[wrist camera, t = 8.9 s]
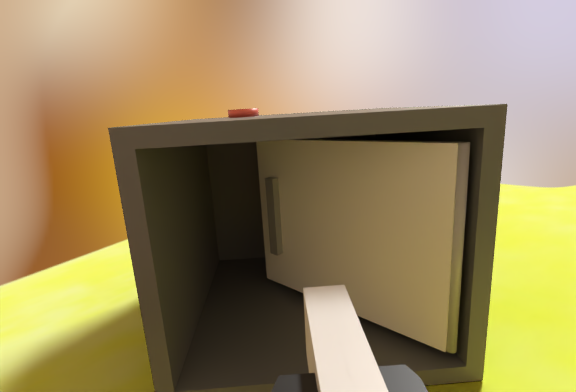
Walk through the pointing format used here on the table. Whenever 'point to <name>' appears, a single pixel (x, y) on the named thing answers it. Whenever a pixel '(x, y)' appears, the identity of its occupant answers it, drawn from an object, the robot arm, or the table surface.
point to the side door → (371, 227)
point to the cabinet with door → (251, 252)
